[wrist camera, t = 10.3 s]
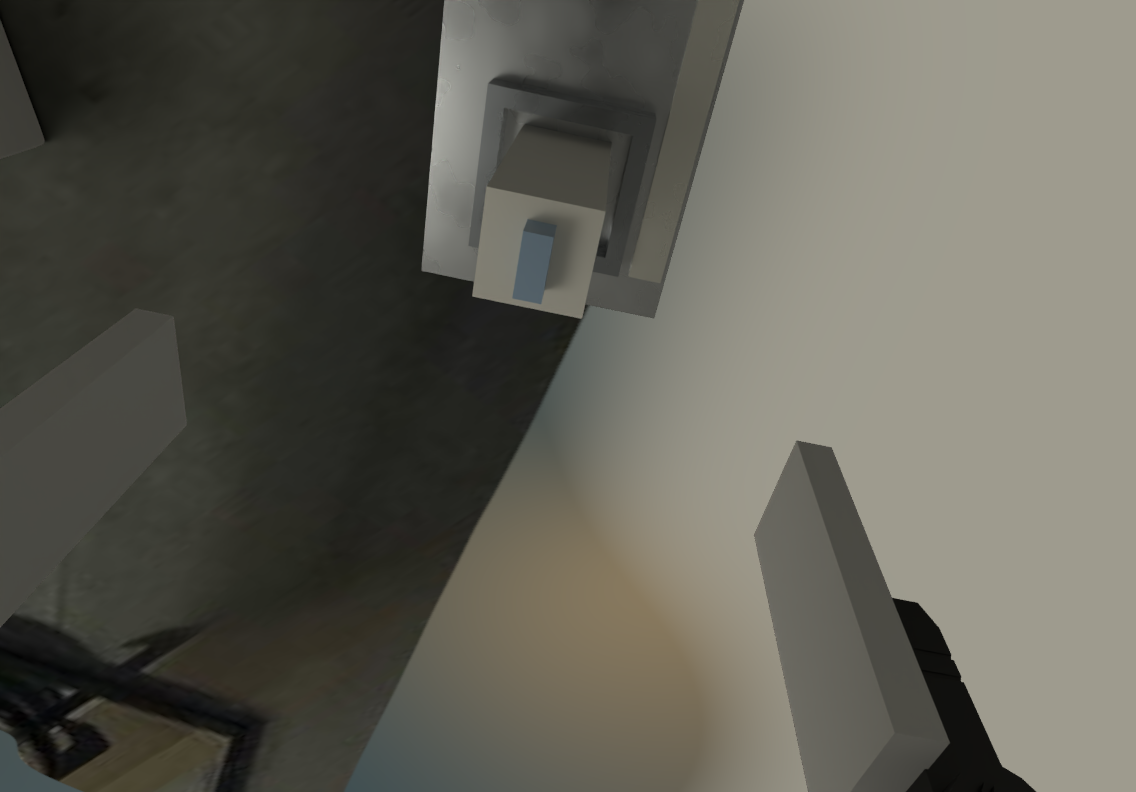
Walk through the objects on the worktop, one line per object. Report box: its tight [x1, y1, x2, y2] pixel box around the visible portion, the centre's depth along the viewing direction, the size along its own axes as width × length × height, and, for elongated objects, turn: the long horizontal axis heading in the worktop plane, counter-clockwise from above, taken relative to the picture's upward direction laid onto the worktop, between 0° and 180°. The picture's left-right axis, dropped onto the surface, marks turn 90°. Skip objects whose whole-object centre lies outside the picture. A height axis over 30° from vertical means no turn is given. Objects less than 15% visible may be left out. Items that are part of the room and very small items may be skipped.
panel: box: [422, 0, 744, 318], centre depth 29 cm, size 26×12×2 cm, turn 169°
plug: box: [472, 124, 612, 319], centre depth 28 cm, size 4×4×11 cm
